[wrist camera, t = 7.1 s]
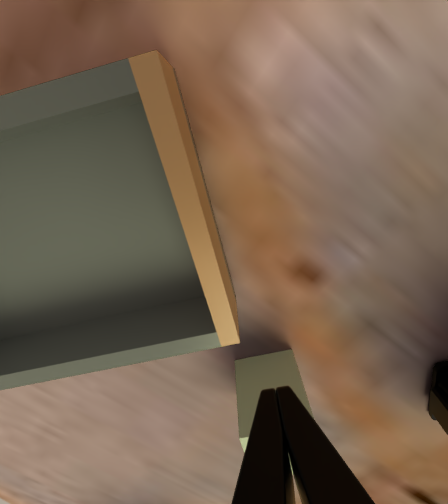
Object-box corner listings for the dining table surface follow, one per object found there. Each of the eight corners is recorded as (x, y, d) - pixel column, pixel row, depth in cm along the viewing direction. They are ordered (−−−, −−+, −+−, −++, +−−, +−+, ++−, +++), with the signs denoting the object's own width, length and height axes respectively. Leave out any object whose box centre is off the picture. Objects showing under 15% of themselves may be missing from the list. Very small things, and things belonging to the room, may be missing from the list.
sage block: (291, 348, 22) (315, 425, 16) (299, 389, 24) (323, 469, 18) (234, 359, 22) (239, 438, 17) (246, 398, 24) (254, 480, 19)
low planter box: (176, 71, 14) (156, 50, 9) (235, 291, 19) (240, 343, 15) (-143, 162, 15) (-289, 181, 11) (-6, 342, 21) (-66, 403, 16)
